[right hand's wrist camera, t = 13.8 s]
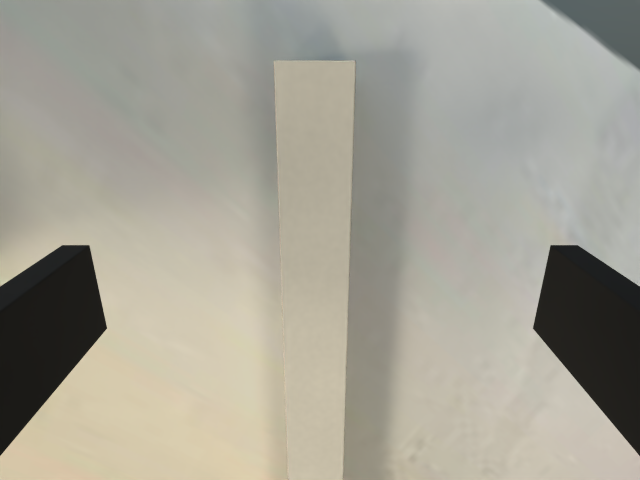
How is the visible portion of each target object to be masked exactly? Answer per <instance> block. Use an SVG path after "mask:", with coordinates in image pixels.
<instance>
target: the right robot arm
mask: <svg viewBox="0 0 640 480" xmlns="http://www.w3.org/2000/svg"><path fill="white" fill-rule="evenodd" d="M106 329H107V326H106V322H105V317H104V312H103V308H102V303H101V298H100V293H99V289H98V284H97V279H96V275H95V270H94V265H93V260H92V256H91V251H90V246H89V245H62V246H61V247H59V248H58V249H56V250H55V251H53V252H52V253H50V254H49V255H47V256H46V257H44V258H43V259H41V260H40V261H38V262H37V263H35V264H34V265H32V266H31V267H29V268H28V269H26V270H25V271H23V272H22V273H20V274H19V275H17V276H16V277H14V278H13V279H11V280H10V281H8V282H7V283H5V284H4V285H2V286H1V287H0V455H1V454H2V453H3V452H4V451H5V449H6V448H7V447H8V446H9V445H10V444H11V442H12V441H13V440H14V439H15V438H16V436H17V435H18V434H19V433H20V432H21V430H22V429H23V428H24V427H25V426H26V424H27V423H28V422H29V421H30V420H31V418H32V417H33V416H34V415H35V414H36V412H37V411H38V410H39V409H40V408H41V406H42V405H43V404H44V403H45V402H46V401H47V399H48V398H49V397H50V396H51V395H52V393H53V392H54V391H55V390H56V389H57V387H58V386H59V385H60V384H61V383H62V381H63V380H64V379H65V378H66V377H67V375H68V374H69V373H70V372H71V371H72V369H73V368H74V367H75V366H76V365H77V363H78V362H79V361H80V360H81V359H82V358H83V356H84V355H85V354H86V353H87V352H88V350H89V349H90V348H91V347H92V346H93V344H94V343H95V342H96V341H97V340H98V338H99V337H100V336H101V335H102V334H103V332H104V331H105V330H106ZM533 329H534V330H535V331H536V332H537V334H538V335H539V336H540V337H541V338H542V340H543V341H544V342H545V343H546V344H547V346H548V347H549V348H550V349H551V350H552V352H553V353H554V354H555V355H556V356H557V358H558V359H559V360H560V361H561V362H562V364H563V365H564V366H565V367H566V368H567V369H568V371H569V372H570V373H571V374H572V375H573V377H574V378H575V379H576V380H577V381H578V383H579V384H580V385H581V386H582V387H583V389H584V390H585V391H586V392H587V393H588V395H589V396H590V397H591V398H592V399H593V401H594V402H595V403H596V404H597V405H598V406H599V408H600V409H601V410H602V411H603V412H604V414H605V415H606V416H607V417H608V418H609V420H610V421H611V422H612V423H613V424H614V426H615V427H616V428H617V429H618V430H619V432H620V433H621V434H622V435H623V436H624V438H625V439H626V440H627V441H628V442H629V444H630V445H631V446H632V447H633V448H634V449H635V451H636V452H637V453H638V454H639V455H640V287H639V286H638V285H636V284H635V283H633V282H632V281H630V280H629V279H627V278H626V277H624V276H623V275H621V274H620V273H618V272H617V271H615V270H614V269H612V268H611V267H609V266H608V265H606V264H605V263H603V262H602V261H600V260H599V259H597V258H596V257H594V256H593V255H591V254H590V253H588V252H587V251H585V250H584V249H582V248H581V247H579V246H578V245H551V246H550V251H549V256H548V260H547V265H546V270H545V275H544V279H543V284H542V289H541V293H540V298H539V303H538V308H537V312H536V317H535V322H534V326H533Z"/></svg>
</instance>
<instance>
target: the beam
mask: <svg viewBox="0 0 640 480" xmlns="http://www.w3.org/2000/svg"><path fill="white" fill-rule="evenodd" d="M355 77H356V61H355V60H274V86H275V116H276V145H277V175H278V204H279V234H280V263H281V293H282V322H283V352H284V381H285V411H286V440H287V470H288V480H343V465H344V433H345V401H346V368H347V336H348V303H349V271H350V239H351V206H352V174H353V142H354V109H355Z"/></svg>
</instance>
